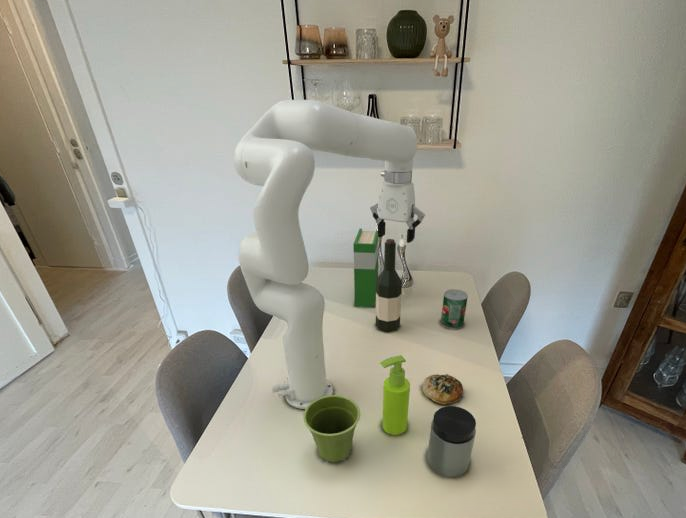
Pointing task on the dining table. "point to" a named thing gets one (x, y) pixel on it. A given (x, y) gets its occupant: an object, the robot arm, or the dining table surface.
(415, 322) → the dining table surface
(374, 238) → the hardback book
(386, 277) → the wine bottle
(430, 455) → the grey and black cylinder
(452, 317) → the canned tomato
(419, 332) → the dining table surface
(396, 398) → the soap dispenser
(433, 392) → the bread roll
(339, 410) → the plant pot
